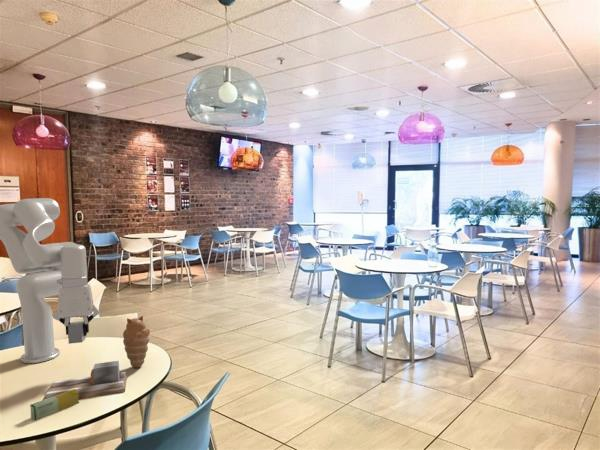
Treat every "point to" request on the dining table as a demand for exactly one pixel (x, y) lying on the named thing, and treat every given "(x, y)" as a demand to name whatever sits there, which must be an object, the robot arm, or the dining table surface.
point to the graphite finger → (76, 332)
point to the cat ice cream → (136, 341)
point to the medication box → (54, 404)
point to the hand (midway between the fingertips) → (77, 335)
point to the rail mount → (93, 382)
